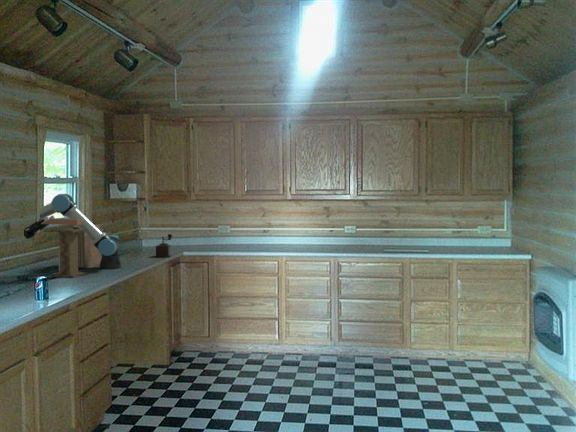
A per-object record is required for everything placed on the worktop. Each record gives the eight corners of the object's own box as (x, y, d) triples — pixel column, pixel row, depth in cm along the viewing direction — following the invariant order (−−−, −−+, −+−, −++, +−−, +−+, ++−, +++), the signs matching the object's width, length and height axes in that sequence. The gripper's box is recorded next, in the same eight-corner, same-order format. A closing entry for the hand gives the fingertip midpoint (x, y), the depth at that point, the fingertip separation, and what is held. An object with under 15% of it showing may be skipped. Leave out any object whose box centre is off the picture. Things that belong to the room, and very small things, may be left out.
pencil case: (38, 223, 381) (38, 218, 381) (43, 223, 386) (43, 218, 386) (77, 224, 372) (76, 219, 372) (81, 224, 376) (81, 219, 376)
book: (84, 268, 410) (84, 226, 408) (73, 268, 412) (72, 226, 410) (104, 263, 434) (103, 223, 433) (92, 263, 437) (92, 223, 435)
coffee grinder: (169, 257, 470) (168, 235, 469) (155, 257, 470) (155, 235, 469) (173, 255, 485) (173, 233, 484) (160, 255, 486) (159, 233, 484)
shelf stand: (51, 276, 376) (50, 230, 374) (65, 273, 388) (64, 228, 386) (73, 278, 370) (72, 231, 368) (86, 274, 383) (85, 229, 381)
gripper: (38, 237, 396) (62, 221, 389) (19, 240, 379) (44, 223, 372) (33, 228, 397) (57, 211, 390) (14, 230, 380) (38, 213, 373)
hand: (50, 217), depth 381 cm, fingers closed on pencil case, 4 cm apart
